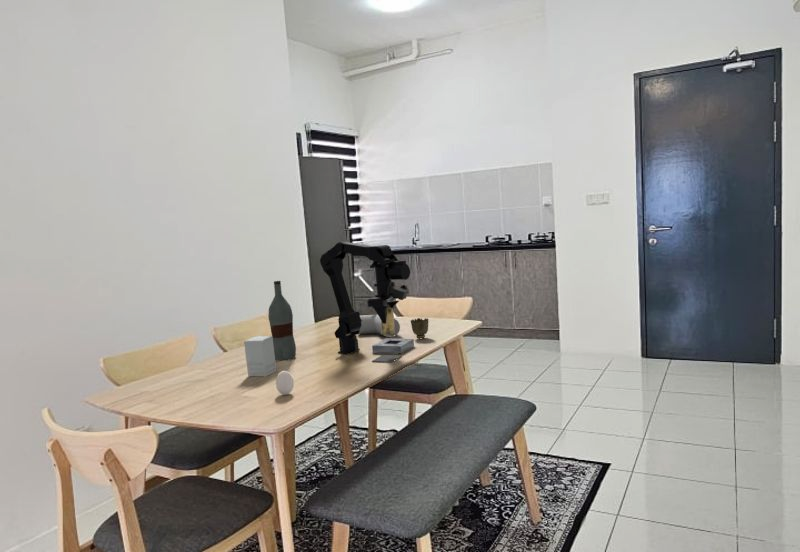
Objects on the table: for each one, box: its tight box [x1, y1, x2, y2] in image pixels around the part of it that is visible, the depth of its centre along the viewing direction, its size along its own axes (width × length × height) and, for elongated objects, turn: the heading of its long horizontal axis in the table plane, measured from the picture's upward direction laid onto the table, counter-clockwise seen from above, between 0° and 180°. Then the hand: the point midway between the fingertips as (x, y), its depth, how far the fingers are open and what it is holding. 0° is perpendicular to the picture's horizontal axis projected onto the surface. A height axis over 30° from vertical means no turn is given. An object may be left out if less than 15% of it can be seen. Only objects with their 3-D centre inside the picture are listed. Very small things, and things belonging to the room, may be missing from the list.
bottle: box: [267, 280, 297, 362], centre depth 219 cm, size 9×9×30 cm
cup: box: [410, 317, 429, 339], centre depth 237 cm, size 8×7×8 cm
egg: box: [275, 370, 295, 396], centre depth 173 cm, size 5×5×7 cm
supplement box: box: [243, 335, 277, 377], centre depth 200 cm, size 7×7×13 cm
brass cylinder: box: [381, 306, 395, 335], centre depth 210 cm, size 5×5×10 cm
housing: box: [371, 337, 415, 354], centre depth 220 cm, size 12×12×3 cm
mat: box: [371, 354, 403, 363], centre depth 206 cm, size 8×8×1 cm
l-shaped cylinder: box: [358, 313, 401, 338], centre depth 252 cm, size 18×11×20 cm
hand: (387, 322), depth 210 cm, fingers closed on brass cylinder, 5 cm apart
